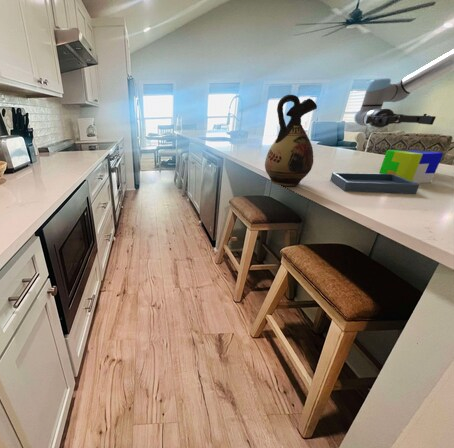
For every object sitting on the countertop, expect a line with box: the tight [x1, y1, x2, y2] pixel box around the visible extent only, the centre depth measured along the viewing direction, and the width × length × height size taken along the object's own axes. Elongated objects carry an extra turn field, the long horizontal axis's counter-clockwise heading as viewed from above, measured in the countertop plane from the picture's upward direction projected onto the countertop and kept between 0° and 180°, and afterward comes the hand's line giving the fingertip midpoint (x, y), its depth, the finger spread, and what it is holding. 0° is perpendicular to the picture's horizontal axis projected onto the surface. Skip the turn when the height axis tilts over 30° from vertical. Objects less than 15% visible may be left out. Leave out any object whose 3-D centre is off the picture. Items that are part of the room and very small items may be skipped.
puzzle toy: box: [378, 148, 444, 184], centre depth 87 cm, size 10×10×10 cm
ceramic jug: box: [259, 94, 318, 187], centre depth 85 cm, size 17×15×30 cm
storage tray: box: [330, 172, 420, 195], centre depth 82 cm, size 19×15×3 cm
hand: (409, 120), depth 88 cm, fingers open, 13 cm apart
